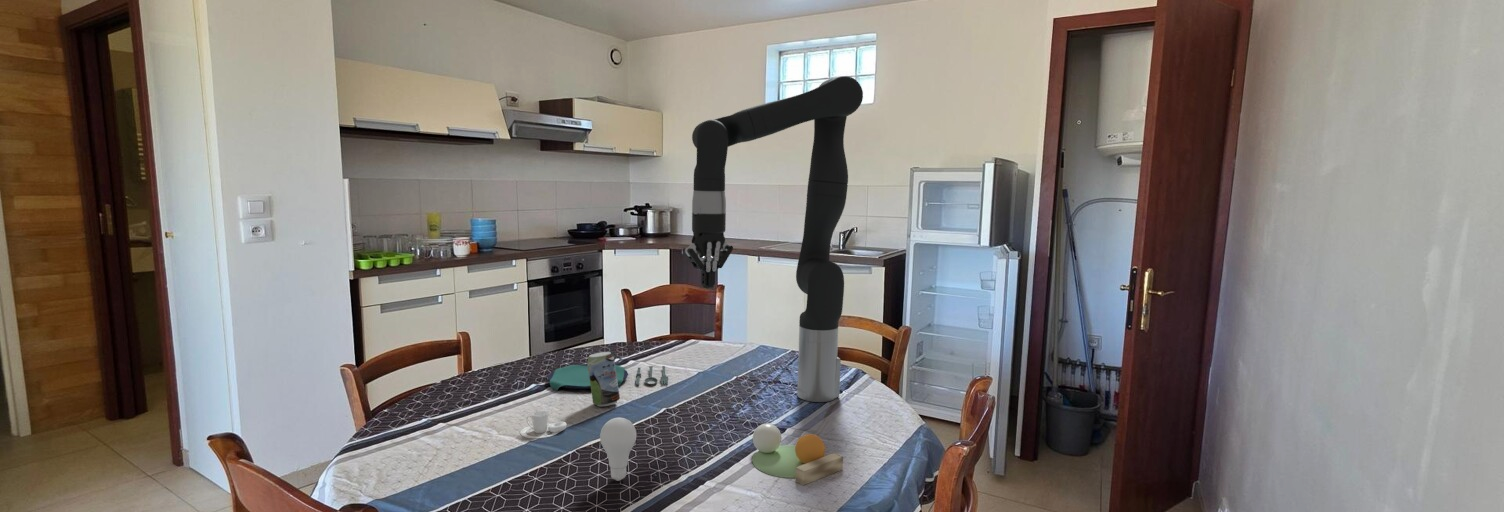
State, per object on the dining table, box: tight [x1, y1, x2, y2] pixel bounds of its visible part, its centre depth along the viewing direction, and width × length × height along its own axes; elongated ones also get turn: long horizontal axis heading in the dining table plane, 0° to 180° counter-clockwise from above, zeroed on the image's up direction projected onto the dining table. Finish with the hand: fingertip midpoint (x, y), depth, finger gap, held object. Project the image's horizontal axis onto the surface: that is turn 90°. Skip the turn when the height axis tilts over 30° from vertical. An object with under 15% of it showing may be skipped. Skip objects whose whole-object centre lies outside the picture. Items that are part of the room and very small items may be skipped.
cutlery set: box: [547, 363, 669, 391], centre depth 173 cm, size 20×30×2 cm, turn 98°
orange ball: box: [794, 433, 826, 464], centre depth 125 cm, size 6×6×6 cm
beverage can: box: [586, 351, 620, 408], centre depth 154 cm, size 6×7×12 cm
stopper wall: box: [795, 452, 844, 486], centre depth 120 cm, size 10×2×2 cm, turn 131°
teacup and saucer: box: [519, 410, 568, 439], centre depth 138 cm, size 9×8×4 cm
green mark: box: [752, 444, 826, 479], centre depth 126 cm, size 14×14×1 cm
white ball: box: [752, 422, 782, 453], centre depth 130 cm, size 6×6×6 cm
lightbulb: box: [599, 416, 637, 482], centre depth 117 cm, size 6×6×11 cm
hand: (708, 287), depth 154 cm, fingers closed
